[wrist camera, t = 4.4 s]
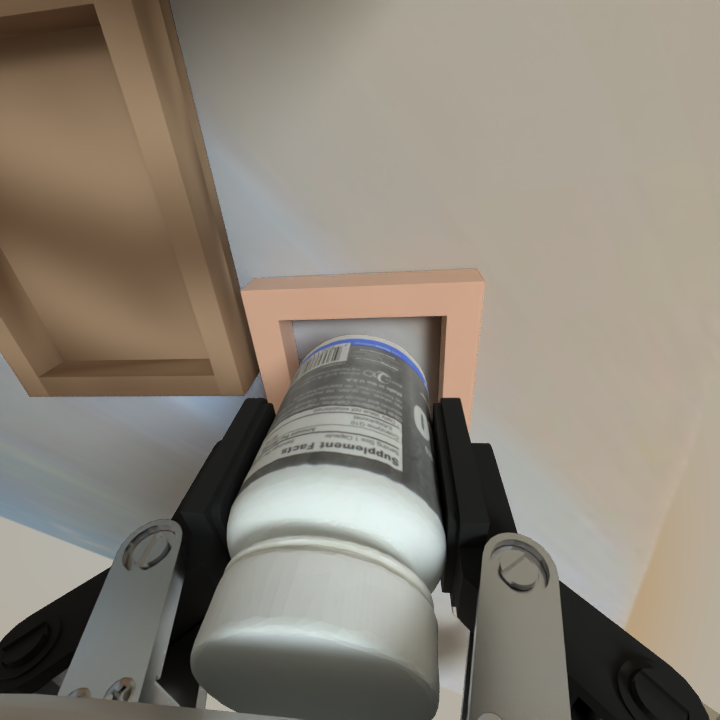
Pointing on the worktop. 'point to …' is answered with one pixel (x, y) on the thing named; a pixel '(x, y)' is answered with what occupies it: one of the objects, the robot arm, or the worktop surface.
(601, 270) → the worktop surface
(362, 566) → the pill bottle
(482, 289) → the frame
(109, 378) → the tray
